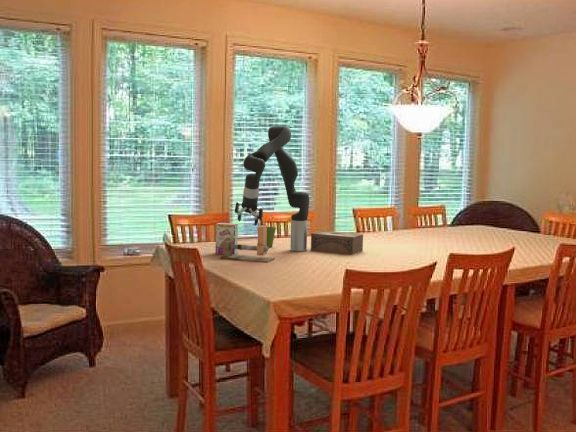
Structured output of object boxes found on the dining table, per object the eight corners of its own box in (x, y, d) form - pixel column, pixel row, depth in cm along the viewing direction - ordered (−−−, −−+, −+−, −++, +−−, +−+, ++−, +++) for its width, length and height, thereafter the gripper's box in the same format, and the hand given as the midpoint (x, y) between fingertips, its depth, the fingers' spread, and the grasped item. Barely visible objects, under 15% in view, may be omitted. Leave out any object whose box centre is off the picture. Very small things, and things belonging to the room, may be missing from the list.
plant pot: (277, 245, 369) (277, 226, 368) (274, 248, 357) (275, 229, 356) (257, 244, 370) (257, 226, 369) (254, 248, 359) (254, 228, 357)
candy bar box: (215, 253, 336) (215, 223, 334) (218, 252, 341) (218, 222, 339) (234, 255, 333) (235, 224, 331) (237, 253, 338) (238, 223, 336)
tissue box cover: (310, 250, 356) (311, 233, 355) (321, 247, 369) (322, 230, 367) (352, 255, 344) (353, 237, 343) (362, 251, 356) (363, 234, 355)
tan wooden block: (261, 253, 323) (261, 225, 322) (266, 253, 322) (267, 225, 321) (257, 255, 318) (257, 226, 316) (262, 255, 317) (263, 226, 315)
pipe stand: (227, 255, 331) (228, 239, 330) (274, 259, 323) (274, 243, 323) (220, 258, 322) (220, 242, 321) (267, 262, 314) (267, 246, 313)
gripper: (266, 194, 314) (262, 222, 321) (240, 188, 316) (237, 216, 324) (261, 200, 307) (258, 229, 315) (234, 194, 310) (231, 222, 317)
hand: (247, 222), depth 319 cm, fingers open, 8 cm apart
